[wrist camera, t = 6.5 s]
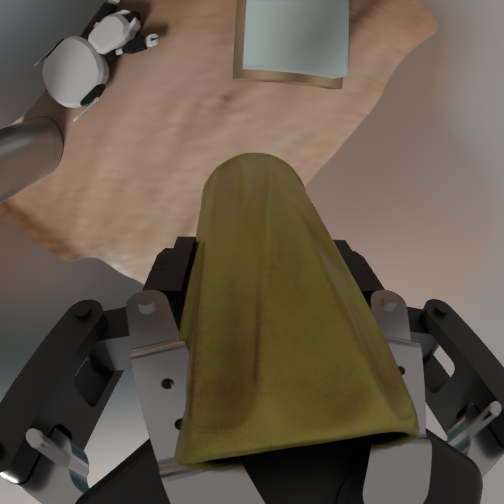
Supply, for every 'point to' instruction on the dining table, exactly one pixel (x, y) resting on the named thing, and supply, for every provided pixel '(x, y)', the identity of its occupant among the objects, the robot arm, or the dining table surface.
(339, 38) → the top brick
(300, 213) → the vase
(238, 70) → the bottom brick
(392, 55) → the dining table surface
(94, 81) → the robot toy
